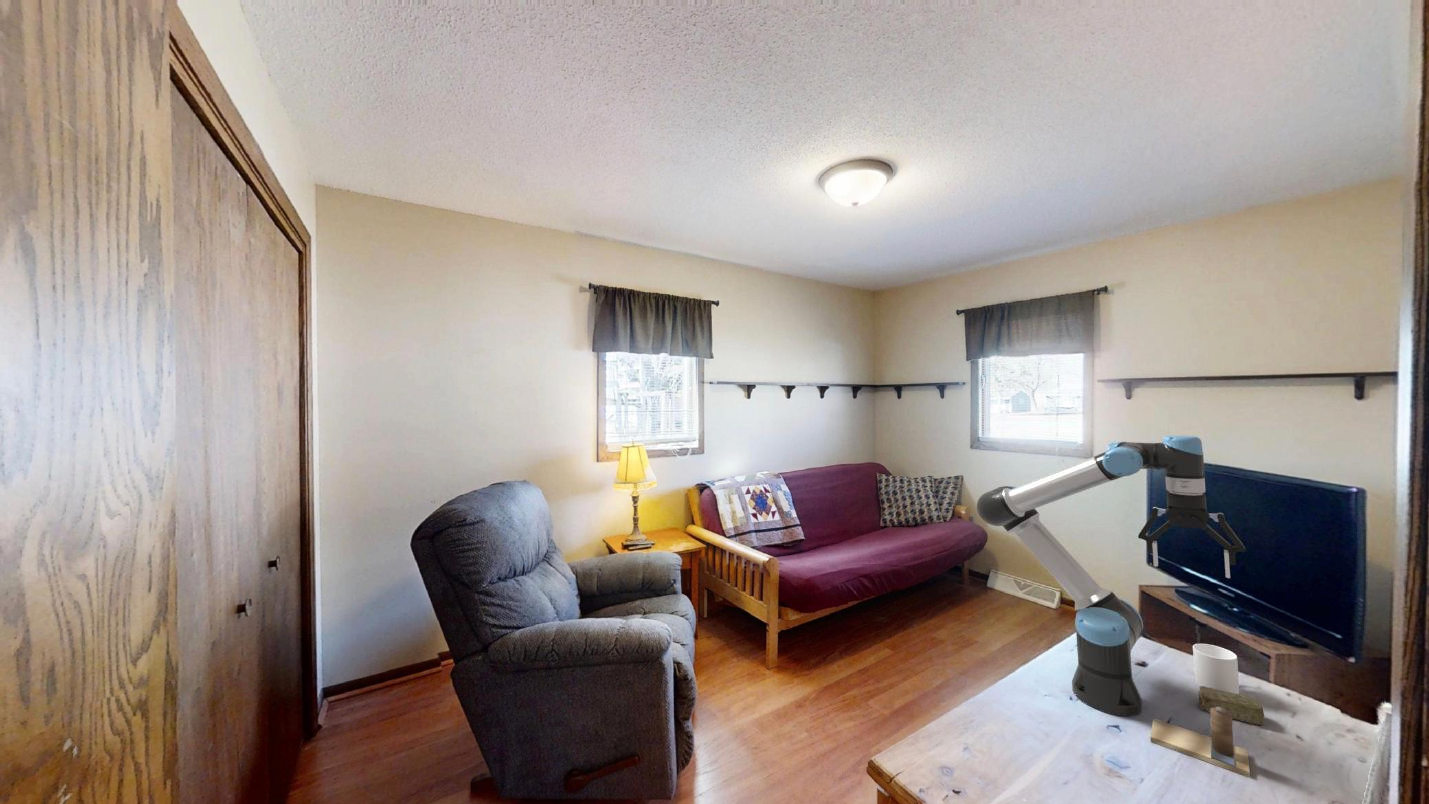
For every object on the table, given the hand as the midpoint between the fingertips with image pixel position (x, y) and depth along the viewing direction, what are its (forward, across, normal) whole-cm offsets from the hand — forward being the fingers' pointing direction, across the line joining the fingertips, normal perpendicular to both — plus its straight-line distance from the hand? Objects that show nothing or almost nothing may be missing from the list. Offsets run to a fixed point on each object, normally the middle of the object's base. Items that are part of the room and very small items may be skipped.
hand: (1190, 570), depth 125 cm
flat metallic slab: (+37, 0, -9) cm, 38 cm away
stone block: (+37, +6, +1) cm, 38 cm away
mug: (+37, +4, +15) cm, 40 cm away
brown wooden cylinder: (+35, +4, -21) cm, 41 cm away
